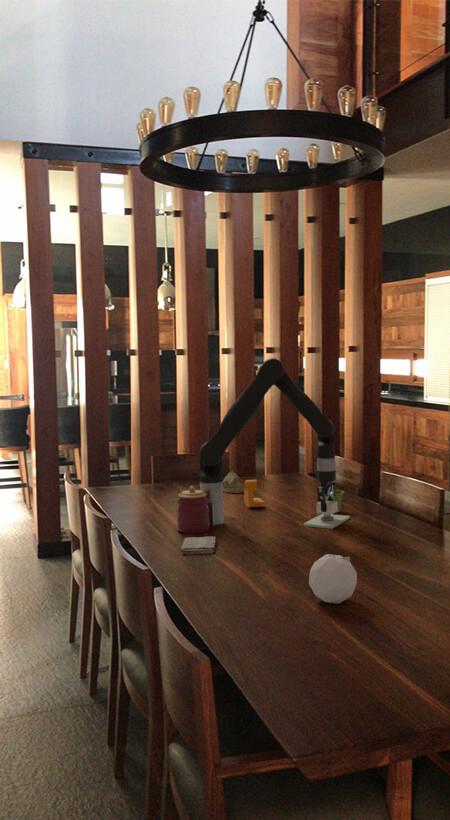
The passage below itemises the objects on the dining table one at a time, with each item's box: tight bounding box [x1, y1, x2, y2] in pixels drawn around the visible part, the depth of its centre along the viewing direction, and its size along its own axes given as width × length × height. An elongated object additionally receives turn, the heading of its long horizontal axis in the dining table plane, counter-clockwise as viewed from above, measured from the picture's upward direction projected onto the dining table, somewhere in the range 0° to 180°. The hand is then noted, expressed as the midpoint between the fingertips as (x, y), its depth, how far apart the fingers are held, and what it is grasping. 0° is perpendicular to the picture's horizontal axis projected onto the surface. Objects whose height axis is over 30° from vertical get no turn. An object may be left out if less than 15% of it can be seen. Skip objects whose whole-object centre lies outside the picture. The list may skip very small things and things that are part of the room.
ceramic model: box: [223, 470, 244, 494], centre depth 382 cm, size 14×11×10 cm
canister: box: [175, 485, 211, 534], centre depth 301 cm, size 13×13×18 cm
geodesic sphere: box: [308, 553, 358, 604], centre depth 213 cm, size 14×14×14 cm
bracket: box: [243, 479, 265, 509], centre depth 344 cm, size 11×7×12 cm, turn 11°
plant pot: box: [327, 489, 345, 514], centre depth 328 cm, size 9×9×9 cm
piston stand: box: [303, 502, 351, 530], centre depth 309 cm, size 20×12×8 cm, turn 150°
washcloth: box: [180, 535, 217, 555], centre depth 275 cm, size 12×18×3 cm, turn 0°
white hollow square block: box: [316, 501, 338, 515], centre depth 309 cm, size 6×6×4 cm
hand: (327, 509), depth 309 cm, fingers closed on white hollow square block, 6 cm apart
